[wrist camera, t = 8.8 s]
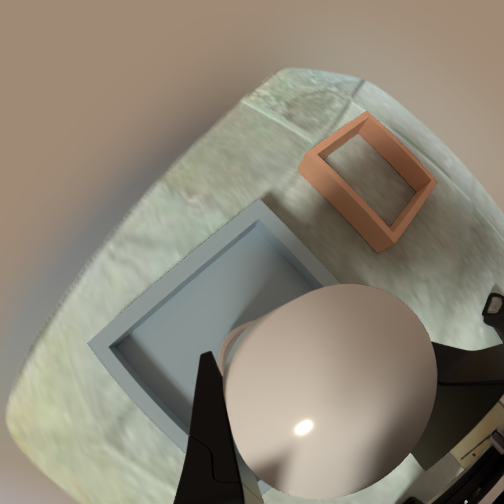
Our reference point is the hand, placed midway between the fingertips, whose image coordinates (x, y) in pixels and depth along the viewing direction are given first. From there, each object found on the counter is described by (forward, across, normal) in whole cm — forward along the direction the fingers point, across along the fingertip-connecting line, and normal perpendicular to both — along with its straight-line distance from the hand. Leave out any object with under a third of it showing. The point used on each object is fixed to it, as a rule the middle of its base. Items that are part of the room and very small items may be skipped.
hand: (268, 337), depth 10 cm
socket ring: (+12, -15, +1) cm, 19 cm away
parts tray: (+5, 0, +7) cm, 9 cm away
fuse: (+4, 0, +6) cm, 7 cm away
